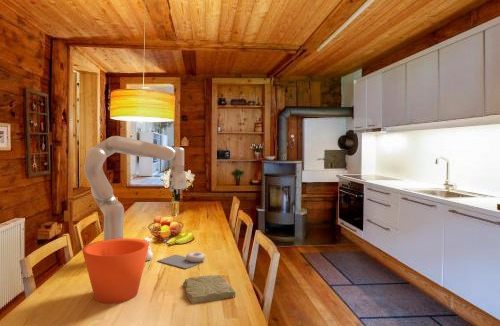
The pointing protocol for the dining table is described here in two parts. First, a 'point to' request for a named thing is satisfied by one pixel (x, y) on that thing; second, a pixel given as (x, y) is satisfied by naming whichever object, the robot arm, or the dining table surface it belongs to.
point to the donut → (195, 257)
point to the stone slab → (207, 288)
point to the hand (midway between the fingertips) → (177, 200)
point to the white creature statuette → (149, 253)
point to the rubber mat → (179, 262)
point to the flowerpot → (115, 268)
